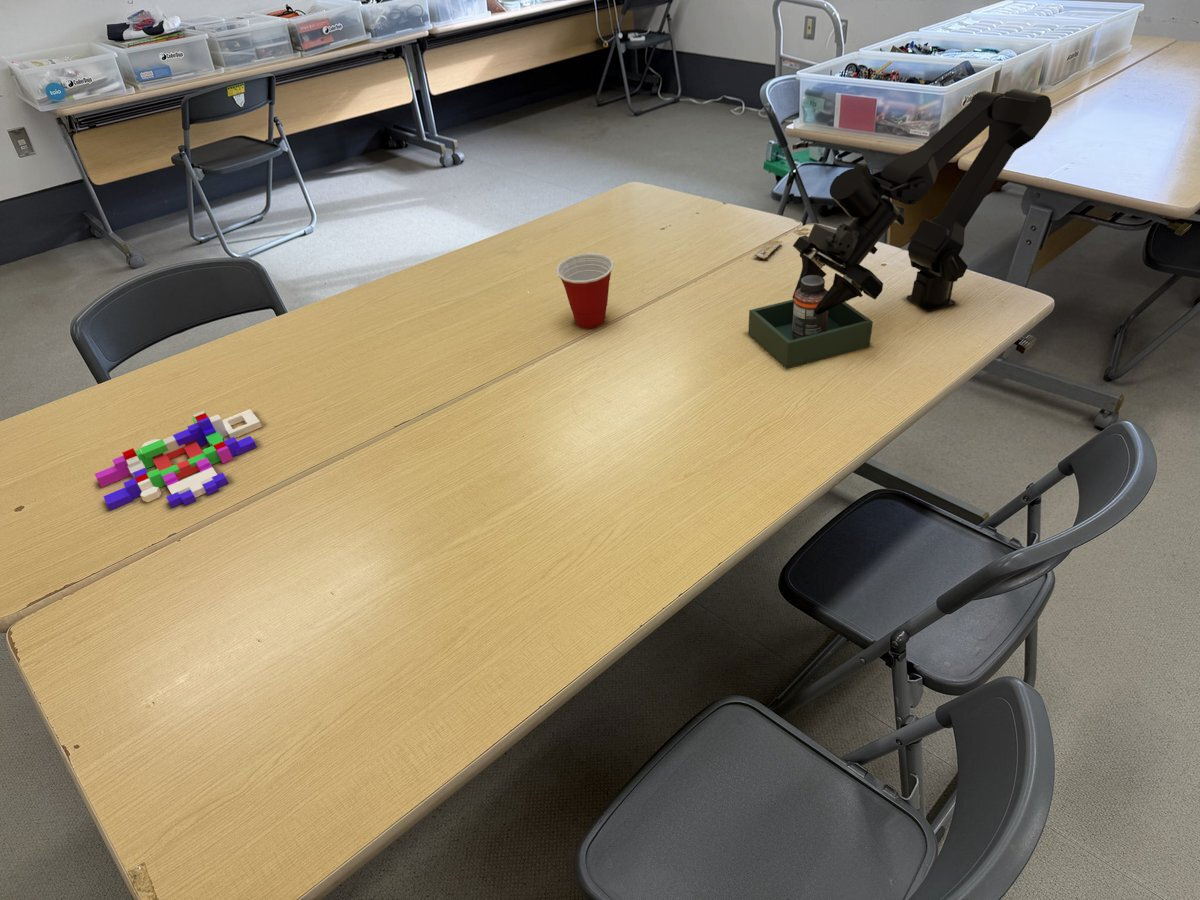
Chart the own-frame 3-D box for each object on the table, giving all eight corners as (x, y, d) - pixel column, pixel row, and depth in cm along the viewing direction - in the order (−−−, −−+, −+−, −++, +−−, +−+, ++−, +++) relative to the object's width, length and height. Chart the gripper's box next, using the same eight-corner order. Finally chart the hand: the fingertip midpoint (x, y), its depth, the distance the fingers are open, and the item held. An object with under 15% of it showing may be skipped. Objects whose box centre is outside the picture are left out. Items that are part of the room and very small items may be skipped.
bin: (826, 314, 149) (829, 290, 146) (869, 346, 138) (873, 321, 135) (748, 334, 145) (749, 310, 142) (786, 369, 134) (788, 343, 131)
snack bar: (769, 240, 176) (782, 237, 174) (771, 246, 177) (783, 244, 175) (752, 255, 170) (765, 253, 168) (754, 262, 170) (767, 259, 169)
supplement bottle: (816, 326, 144) (821, 269, 137) (831, 342, 139) (838, 283, 132) (785, 333, 143) (789, 275, 136) (800, 348, 138) (805, 290, 132)
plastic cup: (553, 332, 151) (546, 274, 144) (575, 306, 159) (569, 250, 152) (605, 339, 147) (600, 280, 140) (625, 312, 155) (622, 255, 148)
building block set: (120, 534, 112) (106, 510, 110) (92, 469, 126) (79, 446, 123) (288, 459, 124) (279, 437, 121) (246, 407, 137) (237, 385, 135)
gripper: (806, 189, 135) (748, 264, 139) (878, 223, 121) (812, 306, 125) (839, 223, 142) (783, 294, 146) (910, 259, 128) (847, 336, 132)
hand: (804, 306), depth 137 cm, fingers closed on supplement bottle, 6 cm apart
